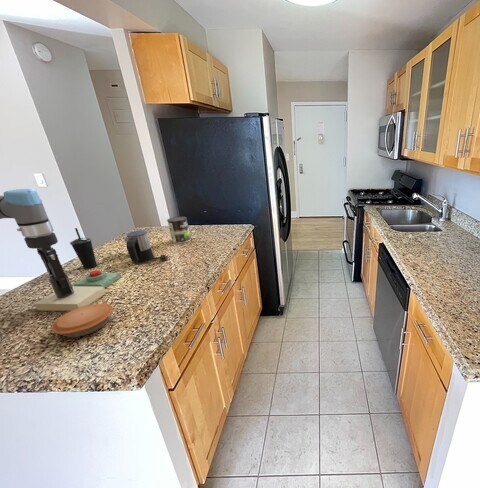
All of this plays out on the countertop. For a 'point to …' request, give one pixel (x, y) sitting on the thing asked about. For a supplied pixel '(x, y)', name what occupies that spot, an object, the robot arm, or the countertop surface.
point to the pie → (83, 320)
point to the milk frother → (140, 247)
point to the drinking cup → (84, 251)
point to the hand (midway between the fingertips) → (64, 291)
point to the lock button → (95, 273)
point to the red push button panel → (98, 280)
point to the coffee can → (179, 229)
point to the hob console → (71, 299)
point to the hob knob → (56, 289)
